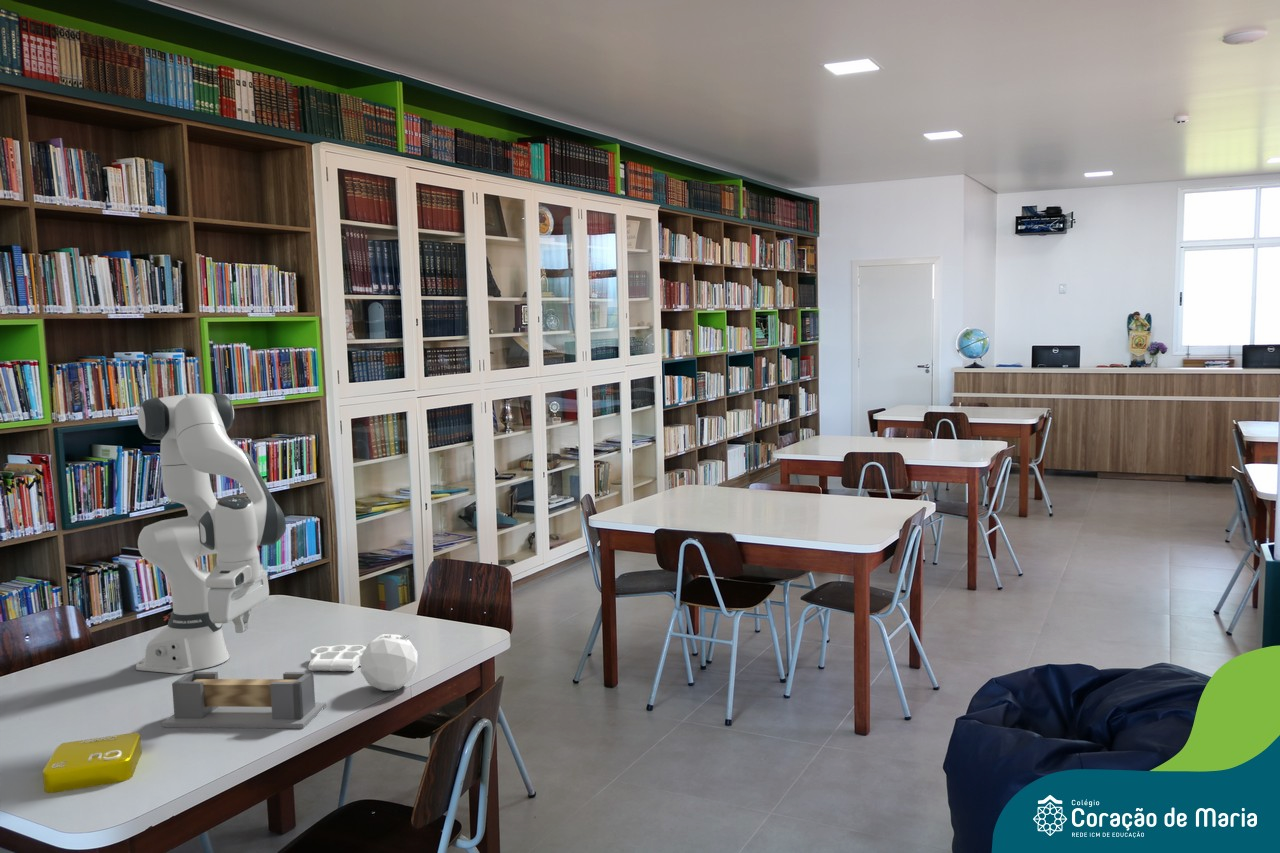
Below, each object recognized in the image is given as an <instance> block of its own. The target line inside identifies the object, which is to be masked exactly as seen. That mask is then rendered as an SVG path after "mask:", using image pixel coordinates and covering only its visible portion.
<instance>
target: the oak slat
mask: <svg viewBox="0 0 1280 853" xmlns="http://www.w3.org/2000/svg"><path fill="white" fill-rule="evenodd" d="M297 680H298V679H283V678H281V679H277V678H270V679H268V678H266V679H265V678H261V679H260V678H256V679H255V678H249V679H248V678H246V679H245V678H218V679H196V680H194V681H193V682H203V687H204V701H205V706H212V707H272V704H271V688H270V684H271V683H272V682H295V681H297Z"/></svg>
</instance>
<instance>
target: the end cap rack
mask: <svg viewBox="0 0 1280 853" xmlns="http://www.w3.org/2000/svg"><path fill="white" fill-rule="evenodd" d="M196 679H219V672H218V671H190V672H187V673H185V675H183V676H181V677H180V678H179V679H177V680H175V681H173V682H171V687H172V688H171V689H172V690H171V691H172V699H173V700H172V702H173V704H172V705H173V715H171V716H169V717H168V718H166V719H165V720H164V721H162V723H161V724H162V725H161V726H162V728H228V729H229V728H233V729H234V728H239V729H250V728H251V729H304V728H305V727H307V725H309V724H310V723H311V722H312V721H313V720H314V719H315V718H316V717H317V716H318V715H319V714H320V713H321V712H322V711H323V710H322V708H324V707H325V706H326V707H327V703H326V702H316V697H315V696H316V695H315V681H314V680H315V679H314V671H302V672H301V671H285V672H284V673H282V679H298V680H297V681H295V682H272V683H271V684H270V688H271V704H272V707H212V706H205V701H204V687H203V682H193V681H194V680H196ZM326 707H325V708H326ZM325 708H324V709H325ZM321 710H322V711H321ZM320 711H321V712H320ZM319 712H320V713H319ZM318 713H319V714H318ZM317 714H318V715H317ZM316 715H317V716H316ZM315 716H316V717H315ZM314 717H315V718H314ZM313 718H314V719H313ZM312 719H313V720H312ZM311 720H312V721H311ZM310 721H311V722H310ZM309 722H310V723H309Z"/></svg>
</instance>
